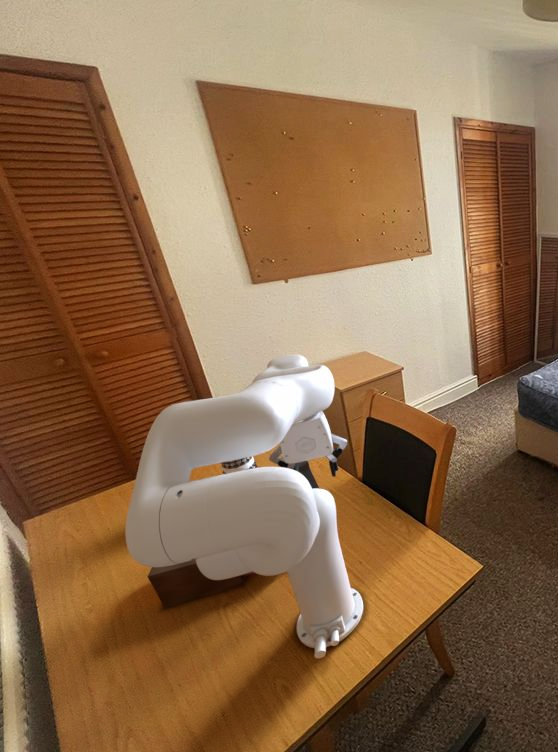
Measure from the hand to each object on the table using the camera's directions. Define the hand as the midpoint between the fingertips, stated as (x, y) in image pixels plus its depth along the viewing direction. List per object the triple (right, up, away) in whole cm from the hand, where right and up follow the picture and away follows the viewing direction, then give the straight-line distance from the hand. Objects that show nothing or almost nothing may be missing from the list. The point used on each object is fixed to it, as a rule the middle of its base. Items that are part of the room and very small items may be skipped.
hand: (316, 476), depth 94 cm
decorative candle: (-35, -10, +28) cm, 46 cm away
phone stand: (-14, -12, +22) cm, 29 cm away
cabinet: (-24, -22, -1) cm, 33 cm away
